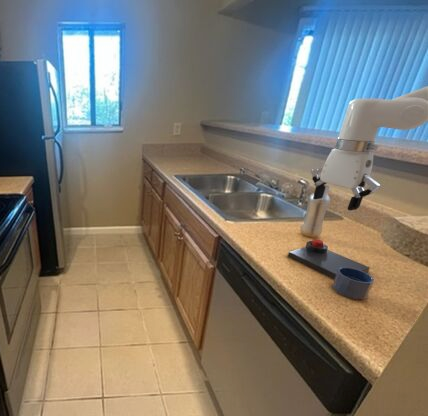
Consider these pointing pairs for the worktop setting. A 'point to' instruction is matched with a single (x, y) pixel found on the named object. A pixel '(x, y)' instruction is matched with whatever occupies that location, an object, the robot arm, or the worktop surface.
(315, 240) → the button
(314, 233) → the silver bottle
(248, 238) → the worktop surface
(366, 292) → the cup
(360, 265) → the scale
